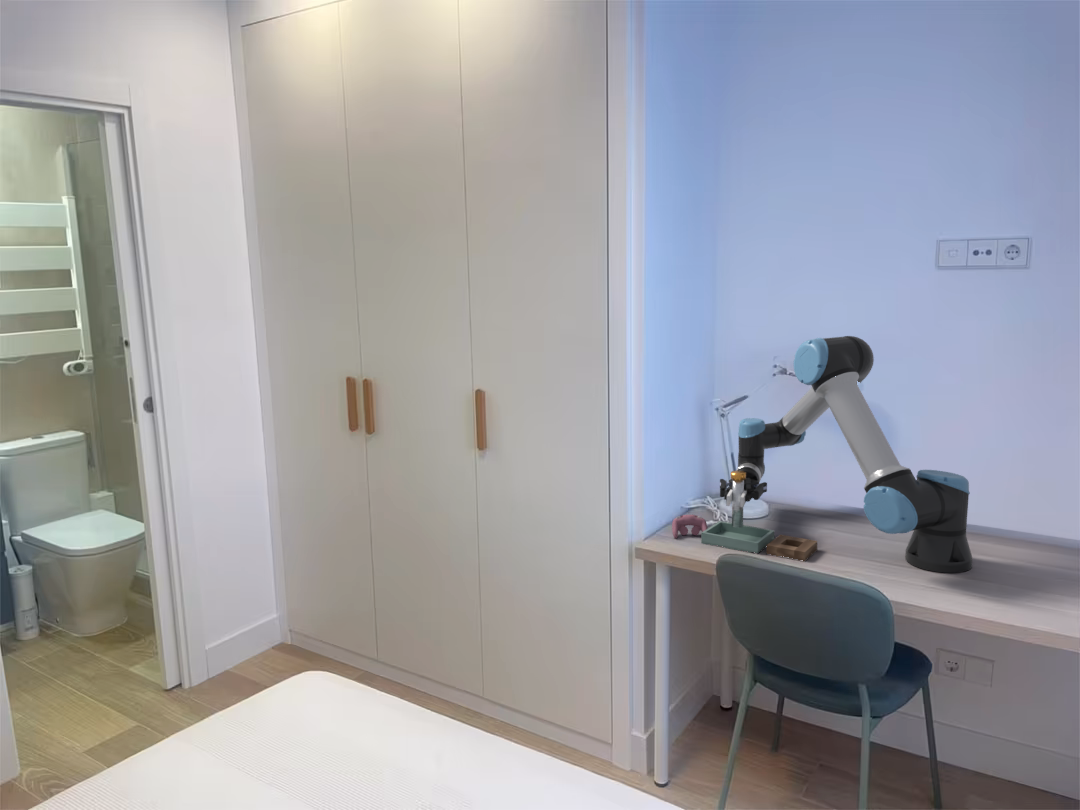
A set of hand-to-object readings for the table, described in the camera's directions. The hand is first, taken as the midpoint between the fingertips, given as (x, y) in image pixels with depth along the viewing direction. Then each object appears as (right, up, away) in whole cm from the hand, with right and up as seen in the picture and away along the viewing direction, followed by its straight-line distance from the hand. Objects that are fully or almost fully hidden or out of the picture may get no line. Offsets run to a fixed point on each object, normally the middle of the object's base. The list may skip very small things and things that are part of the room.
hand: (735, 501), depth 218 cm
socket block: (+15, -13, -2) cm, 20 cm away
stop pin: (+2, -7, +7) cm, 10 cm away
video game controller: (-10, -11, +13) cm, 20 cm away
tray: (+2, -12, +7) cm, 14 cm away
